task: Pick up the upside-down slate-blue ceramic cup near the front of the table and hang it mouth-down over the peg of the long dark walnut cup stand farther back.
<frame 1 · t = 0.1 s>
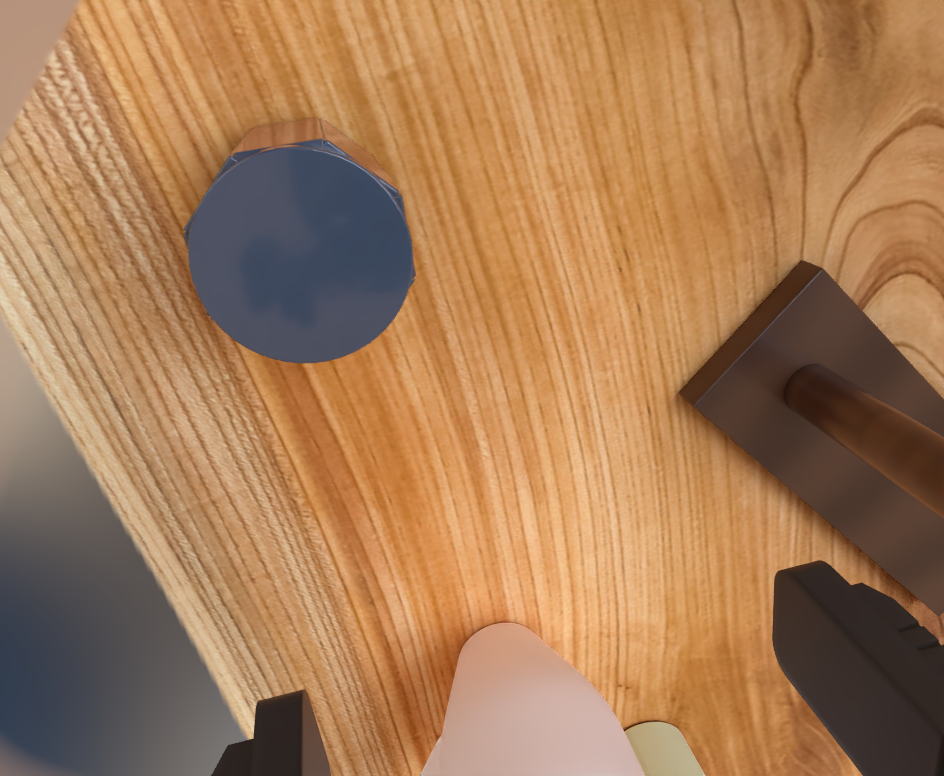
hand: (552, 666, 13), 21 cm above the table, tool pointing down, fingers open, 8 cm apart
cup: (304, 204, 29), on the table
cup stand: (868, 451, 39), on the table
mug: (471, 673, 40), on the table
candle: (641, 749, 45), on the table
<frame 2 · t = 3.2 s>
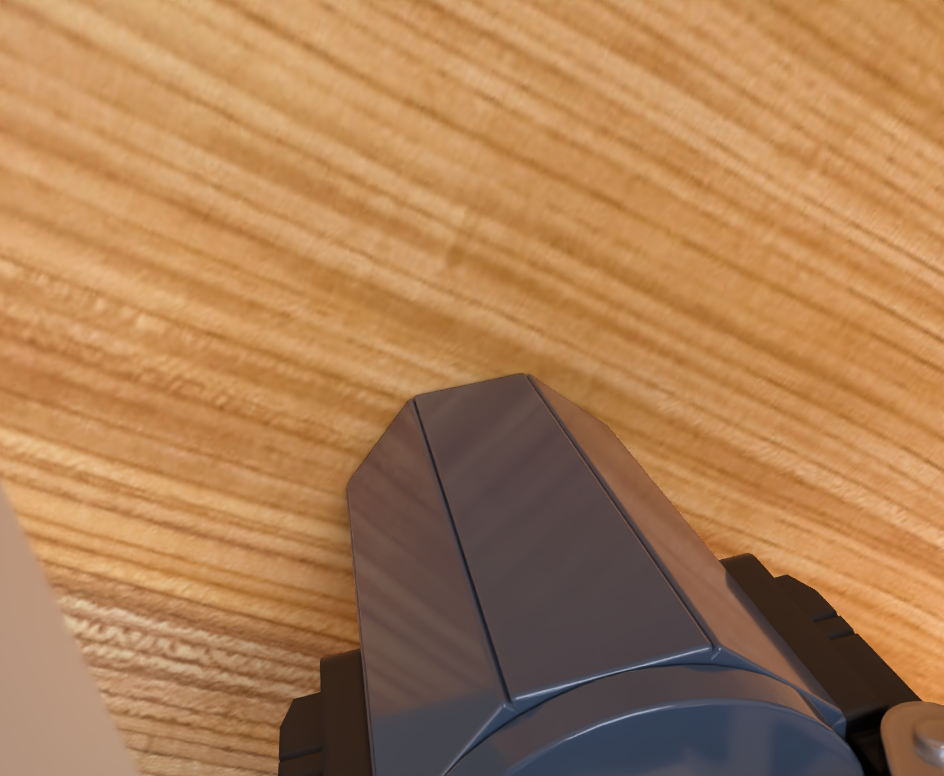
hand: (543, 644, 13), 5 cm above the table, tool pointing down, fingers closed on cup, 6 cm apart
cup: (487, 502, 17), on the table, touching gripper
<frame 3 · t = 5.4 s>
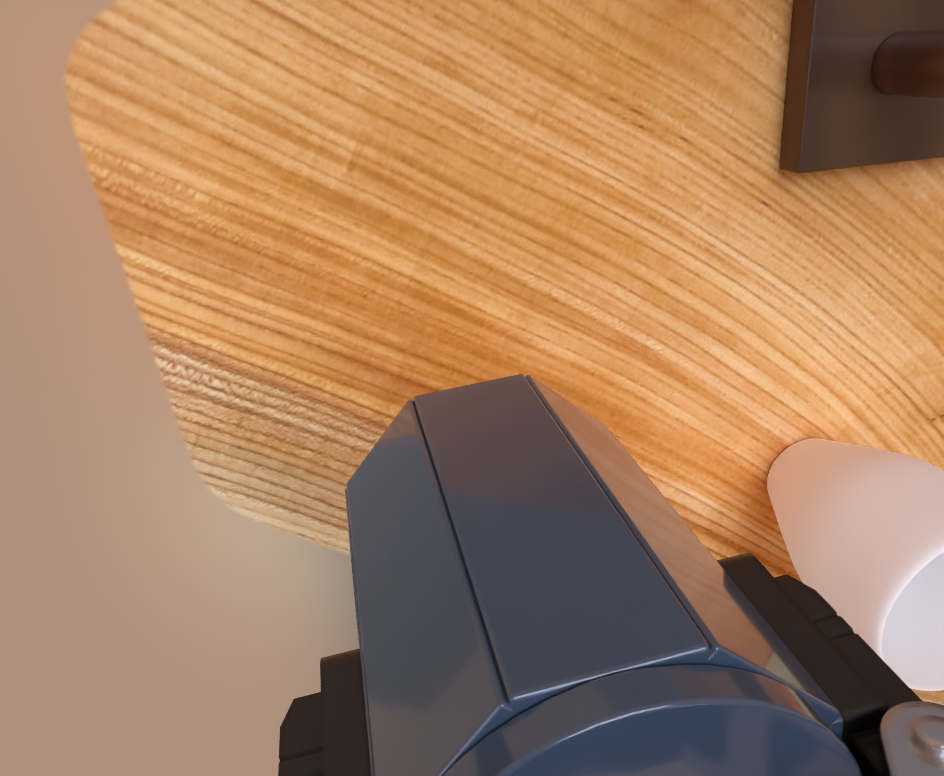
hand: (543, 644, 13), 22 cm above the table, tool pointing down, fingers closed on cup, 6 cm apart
cup: (486, 502, 17), point 17 cm above the table, touching gripper
mug: (792, 501, 42), on the table
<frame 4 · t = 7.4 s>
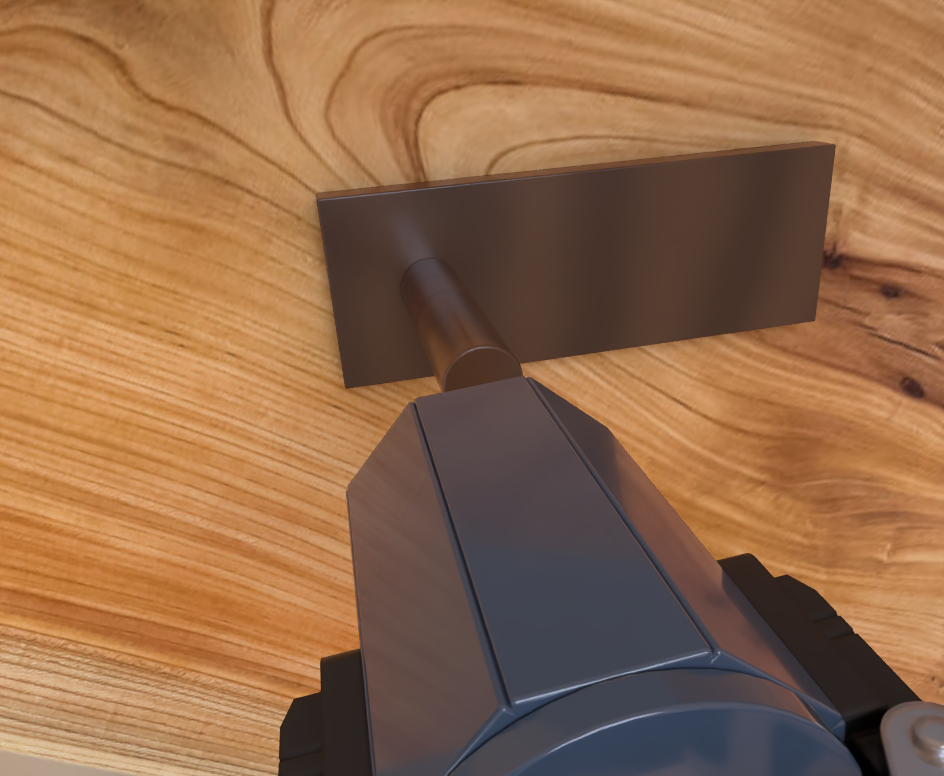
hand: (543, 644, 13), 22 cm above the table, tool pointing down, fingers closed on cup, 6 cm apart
cup: (487, 504, 17), point 17 cm above the table, touching gripper
cup stand: (580, 258, 34), on the table
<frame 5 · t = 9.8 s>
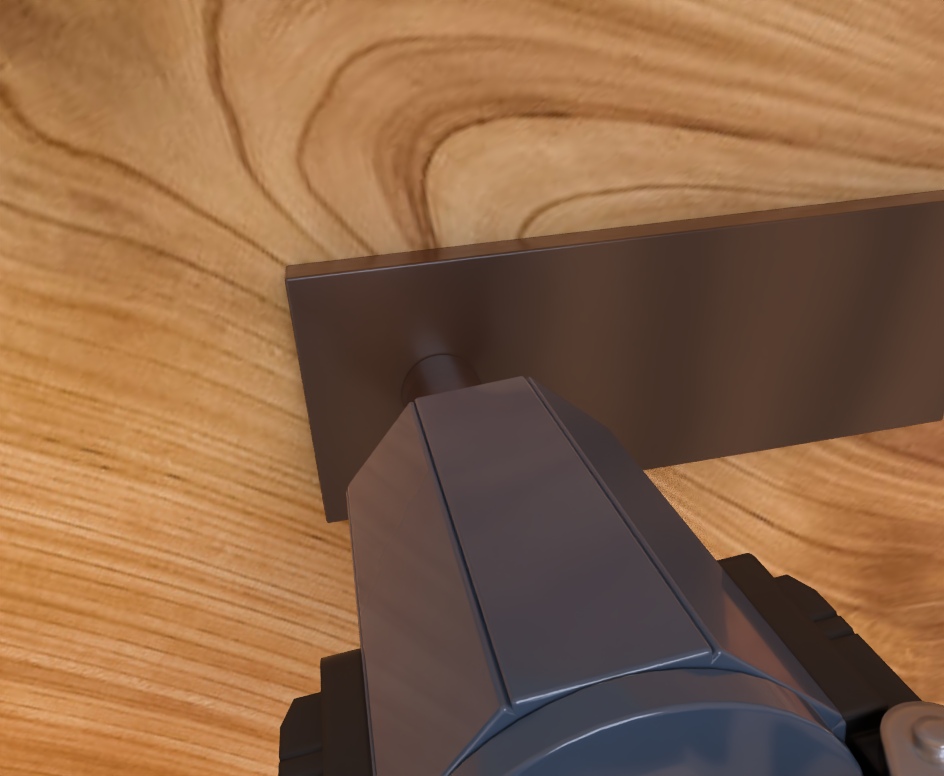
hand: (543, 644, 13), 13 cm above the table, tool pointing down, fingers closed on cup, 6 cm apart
cup: (487, 504, 17), point 8 cm above the table, touching gripper
cup stand: (639, 343, 26), on the table
when the fingers open (8 cm above the table, at t = 11.7 s): cup stays where it is, resting on cup stand.
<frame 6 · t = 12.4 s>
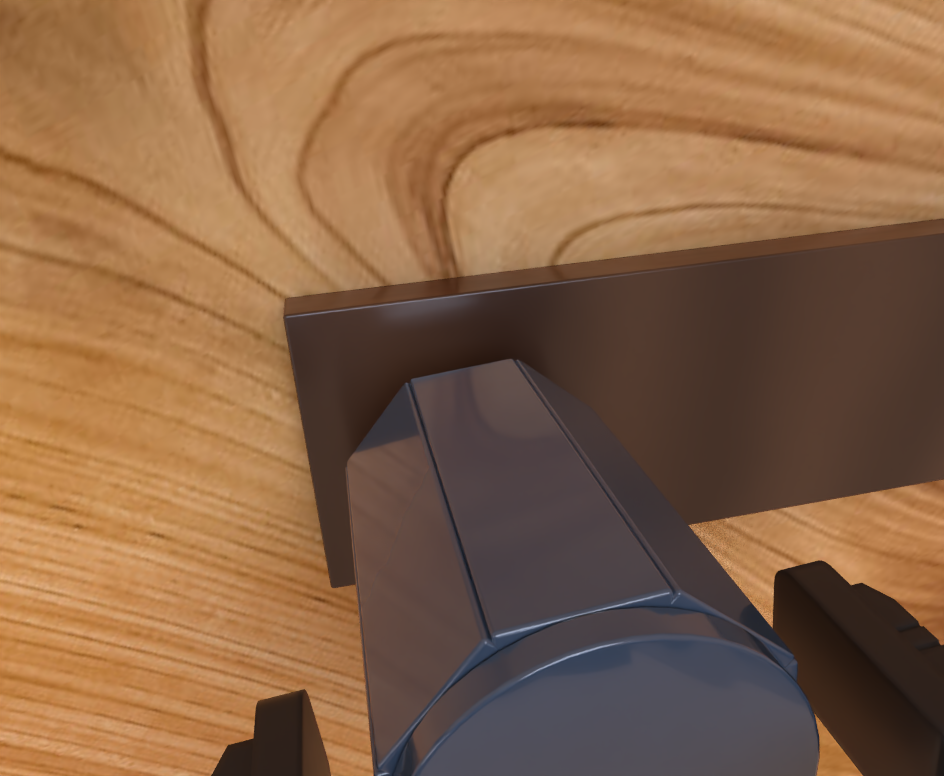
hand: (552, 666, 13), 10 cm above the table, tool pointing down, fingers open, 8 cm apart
cup: (479, 481, 18), point 4 cm above the table, touching cup stand
cup stand: (685, 381, 23), on the table
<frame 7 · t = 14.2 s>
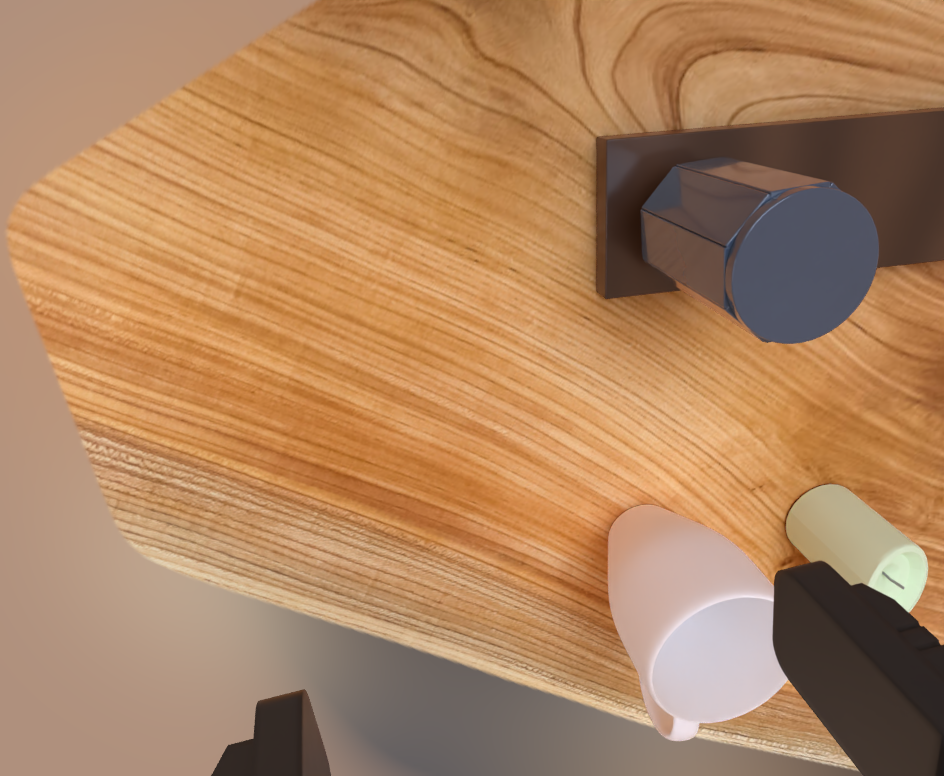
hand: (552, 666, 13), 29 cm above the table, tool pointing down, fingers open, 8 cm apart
cup: (700, 223, 37), point 4 cm above the table, touching cup stand
cup stand: (792, 197, 41), on the table
mug: (633, 556, 49), on the table
candle: (818, 514, 50), on the table
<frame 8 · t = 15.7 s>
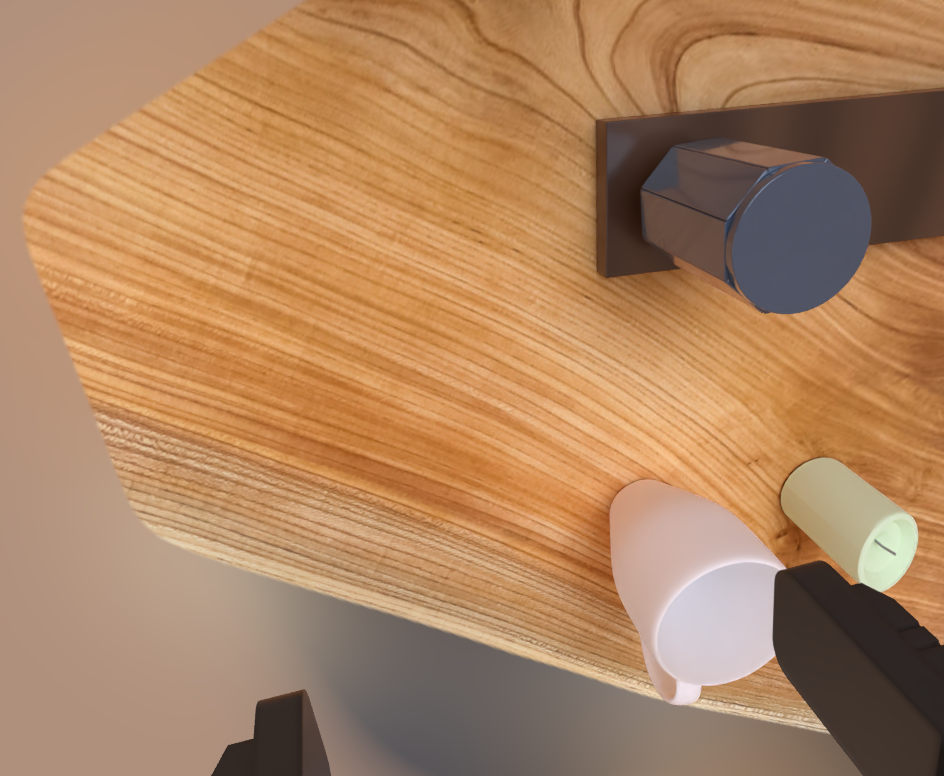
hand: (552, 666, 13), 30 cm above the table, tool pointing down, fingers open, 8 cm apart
cup: (697, 203, 38), point 4 cm above the table, touching cup stand
cup stand: (785, 178, 43), on the table
mug: (634, 530, 50), on the table
candle: (811, 487, 52), on the table
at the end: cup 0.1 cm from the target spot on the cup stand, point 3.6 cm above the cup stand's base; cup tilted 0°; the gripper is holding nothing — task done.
